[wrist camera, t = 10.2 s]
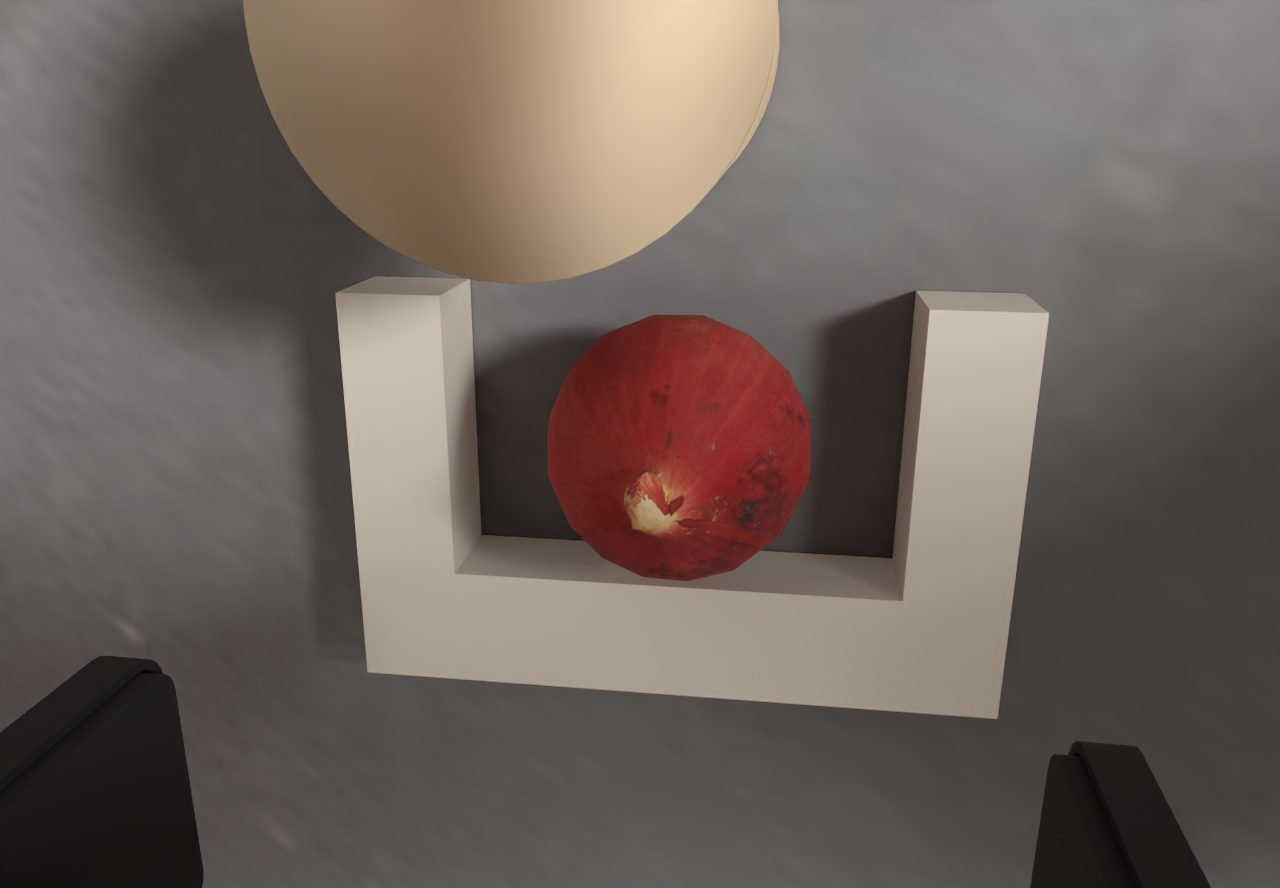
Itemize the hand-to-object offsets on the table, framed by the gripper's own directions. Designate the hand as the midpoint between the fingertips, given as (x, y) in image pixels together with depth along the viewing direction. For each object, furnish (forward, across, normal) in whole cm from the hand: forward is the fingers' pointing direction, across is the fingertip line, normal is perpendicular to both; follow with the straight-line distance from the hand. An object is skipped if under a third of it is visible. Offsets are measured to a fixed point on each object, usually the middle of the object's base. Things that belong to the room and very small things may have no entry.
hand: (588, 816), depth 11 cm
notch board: (+16, +1, +2) cm, 17 cm away
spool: (+16, +3, -8) cm, 19 cm away
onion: (+17, +1, 0) cm, 17 cm away
